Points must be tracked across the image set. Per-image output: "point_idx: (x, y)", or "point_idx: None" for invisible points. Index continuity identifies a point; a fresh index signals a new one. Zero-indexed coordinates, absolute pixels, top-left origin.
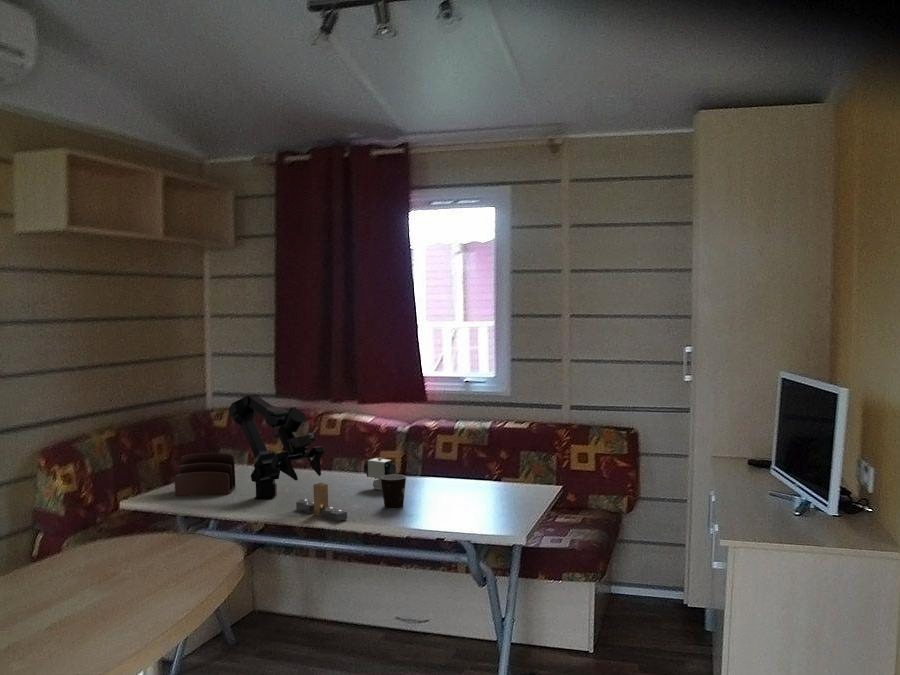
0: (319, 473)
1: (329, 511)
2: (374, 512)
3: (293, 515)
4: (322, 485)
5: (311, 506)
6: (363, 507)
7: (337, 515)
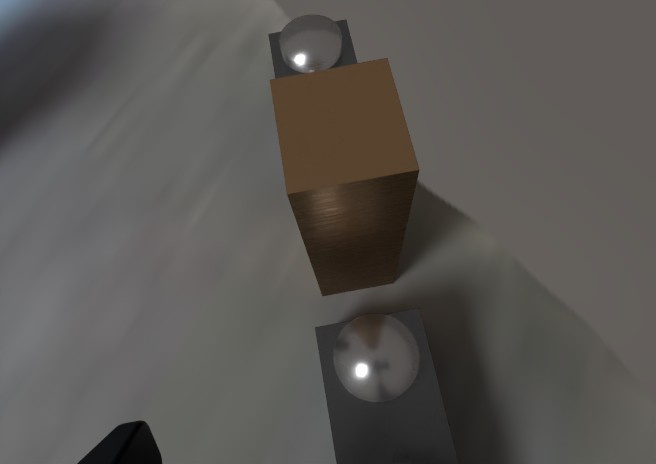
0: (137, 450)
1: None
2: (71, 117)
3: (541, 358)
4: (342, 68)
5: (400, 312)
6: (34, 251)
7: (340, 25)
